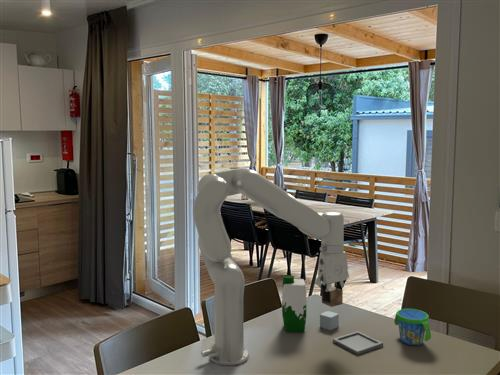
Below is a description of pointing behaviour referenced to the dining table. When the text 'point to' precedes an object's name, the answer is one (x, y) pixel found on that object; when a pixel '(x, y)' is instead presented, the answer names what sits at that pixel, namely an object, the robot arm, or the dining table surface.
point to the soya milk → (293, 304)
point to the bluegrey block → (329, 320)
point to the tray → (357, 342)
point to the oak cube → (335, 297)
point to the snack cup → (413, 326)
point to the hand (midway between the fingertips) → (332, 299)
